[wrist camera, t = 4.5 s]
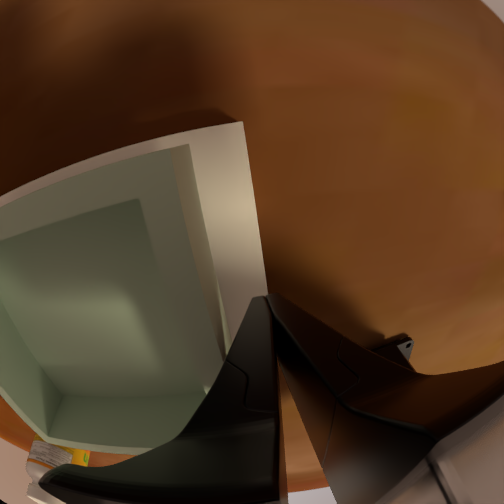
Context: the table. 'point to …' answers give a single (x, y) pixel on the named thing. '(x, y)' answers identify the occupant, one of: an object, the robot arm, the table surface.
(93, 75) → the table surface
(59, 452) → the supplement bottle
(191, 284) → the sage green storage bin
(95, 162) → the board
